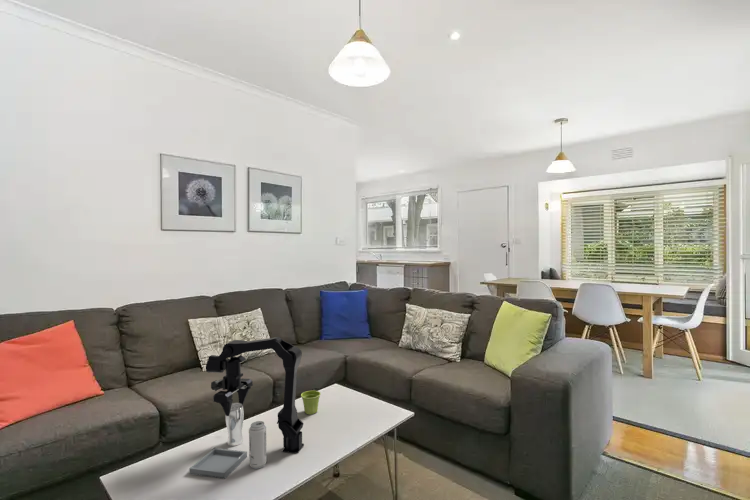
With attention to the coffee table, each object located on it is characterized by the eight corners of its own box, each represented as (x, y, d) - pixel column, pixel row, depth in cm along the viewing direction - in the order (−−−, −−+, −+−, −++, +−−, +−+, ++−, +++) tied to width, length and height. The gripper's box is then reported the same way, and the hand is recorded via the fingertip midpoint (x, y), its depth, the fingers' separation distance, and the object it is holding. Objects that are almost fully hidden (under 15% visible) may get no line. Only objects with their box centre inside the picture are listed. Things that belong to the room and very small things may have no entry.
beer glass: (238, 447, 151) (237, 411, 150) (222, 445, 152) (221, 409, 151) (247, 438, 157) (246, 403, 156) (232, 436, 159) (231, 401, 158)
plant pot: (319, 416, 178) (318, 397, 178) (299, 416, 178) (299, 398, 178) (322, 407, 187) (322, 390, 187) (303, 407, 187) (303, 390, 187)
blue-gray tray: (246, 456, 144) (246, 451, 144) (224, 478, 130) (224, 473, 130) (214, 453, 147) (214, 447, 147) (189, 474, 133) (189, 468, 133)
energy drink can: (248, 462, 140) (248, 422, 140) (265, 458, 142) (264, 419, 142) (250, 471, 134) (249, 429, 134) (267, 467, 137) (267, 426, 137)
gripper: (229, 364, 163) (230, 400, 163) (200, 379, 145) (201, 419, 145) (252, 365, 161) (253, 402, 161) (225, 380, 142) (227, 422, 143)
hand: (234, 410), depth 152 cm, fingers open, 9 cm apart
